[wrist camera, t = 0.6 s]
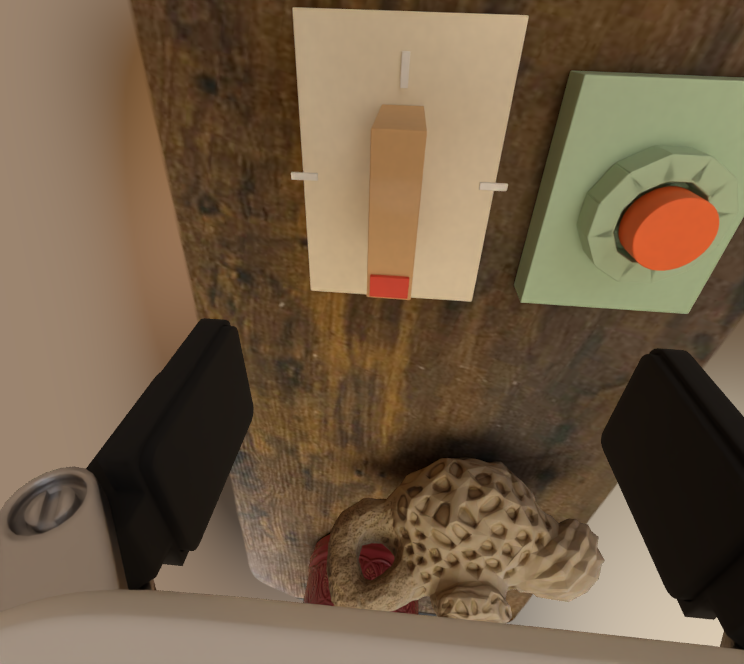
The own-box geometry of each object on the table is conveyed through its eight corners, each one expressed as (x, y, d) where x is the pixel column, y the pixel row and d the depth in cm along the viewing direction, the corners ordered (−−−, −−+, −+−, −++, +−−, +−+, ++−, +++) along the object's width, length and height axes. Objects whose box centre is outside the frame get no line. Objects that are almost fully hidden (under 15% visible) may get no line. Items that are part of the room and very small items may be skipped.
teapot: (587, 431, 35) (680, 647, 23) (559, 509, 41) (618, 707, 29) (335, 425, 37) (296, 618, 25) (347, 500, 44) (321, 680, 31)
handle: (381, 104, 20) (369, 129, 15) (424, 106, 19) (427, 132, 14) (376, 242, 24) (365, 300, 19) (411, 245, 24) (410, 303, 19)
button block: (570, 70, 20) (599, 77, 17) (784, 79, 20) (855, 88, 17) (513, 285, 27) (526, 319, 24) (670, 295, 27) (705, 331, 24)
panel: (291, 9, 20) (276, 6, 18) (530, 17, 19) (545, 15, 17) (309, 271, 28) (300, 291, 26) (476, 282, 27) (482, 303, 25)
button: (634, 183, 20) (651, 195, 18) (713, 187, 19) (737, 200, 18) (607, 253, 22) (620, 269, 20) (678, 257, 22) (696, 273, 20)
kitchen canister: (422, 530, 46) (426, 756, 32) (417, 584, 53) (418, 785, 39) (306, 522, 47) (259, 737, 33) (317, 576, 54) (283, 769, 40)
